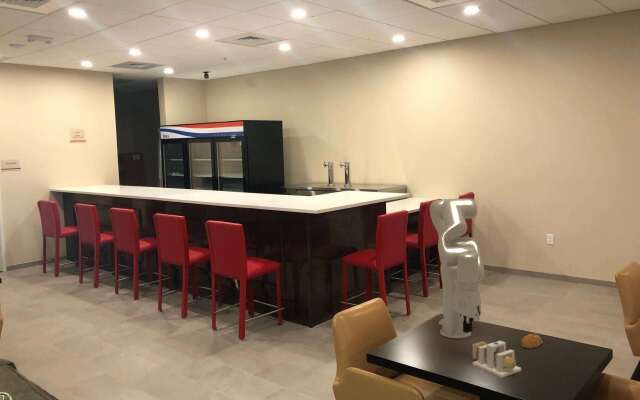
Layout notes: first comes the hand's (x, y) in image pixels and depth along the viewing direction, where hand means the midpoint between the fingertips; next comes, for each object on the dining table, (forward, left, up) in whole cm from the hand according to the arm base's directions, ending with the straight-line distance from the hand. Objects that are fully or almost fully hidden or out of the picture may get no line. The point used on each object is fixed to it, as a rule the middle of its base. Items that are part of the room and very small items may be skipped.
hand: (467, 331), depth 193 cm
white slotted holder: (+14, -1, -9) cm, 17 cm away
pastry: (+7, +27, -9) cm, 29 cm away
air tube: (+14, -1, -7) cm, 15 cm away
